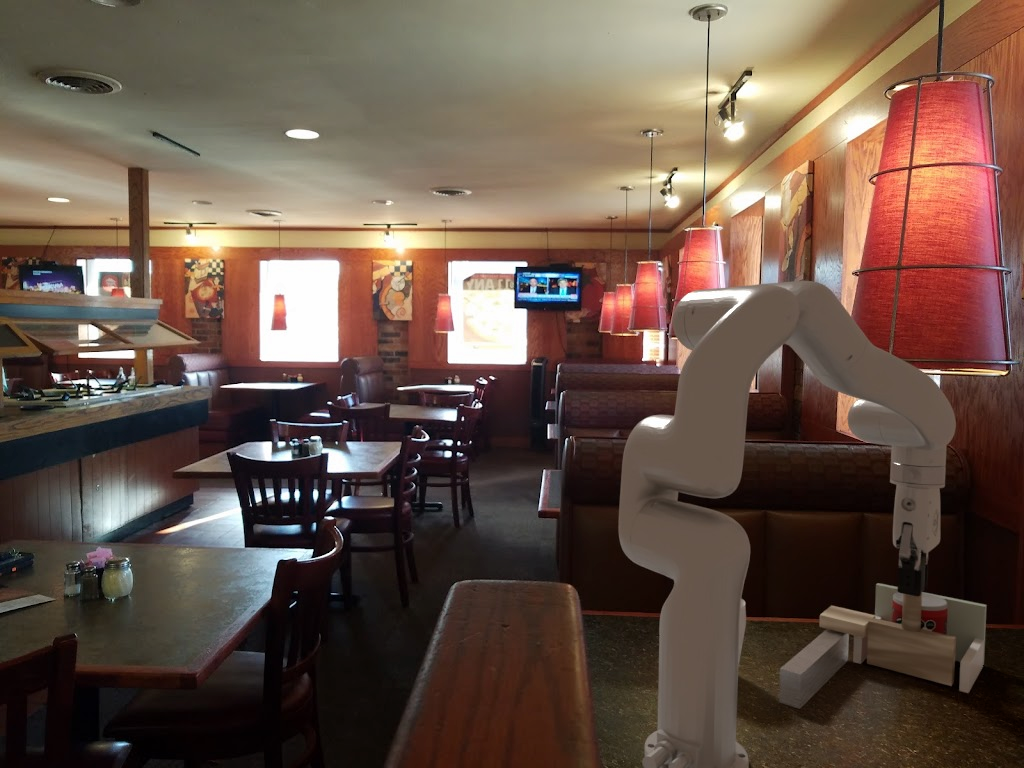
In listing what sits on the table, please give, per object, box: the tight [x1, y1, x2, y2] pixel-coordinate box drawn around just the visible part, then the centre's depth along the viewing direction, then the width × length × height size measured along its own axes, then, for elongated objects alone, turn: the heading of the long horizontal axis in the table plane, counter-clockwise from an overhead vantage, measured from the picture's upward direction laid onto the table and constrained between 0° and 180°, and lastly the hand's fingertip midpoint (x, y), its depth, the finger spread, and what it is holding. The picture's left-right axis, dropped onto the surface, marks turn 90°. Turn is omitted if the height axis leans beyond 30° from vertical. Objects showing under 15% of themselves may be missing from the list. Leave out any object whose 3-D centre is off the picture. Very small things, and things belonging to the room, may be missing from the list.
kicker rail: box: [778, 628, 850, 710], centre depth 115 cm, size 22×3×5 cm, turn 139°
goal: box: [852, 583, 988, 694], centre depth 122 cm, size 13×16×10 cm
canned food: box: [892, 592, 948, 635], centre depth 121 cm, size 8×8×11 cm
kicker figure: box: [818, 554, 956, 687], centre depth 119 cm, size 6×19×18 cm, turn 49°
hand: (912, 590), depth 117 cm, fingers closed on kicker figure, 3 cm apart
